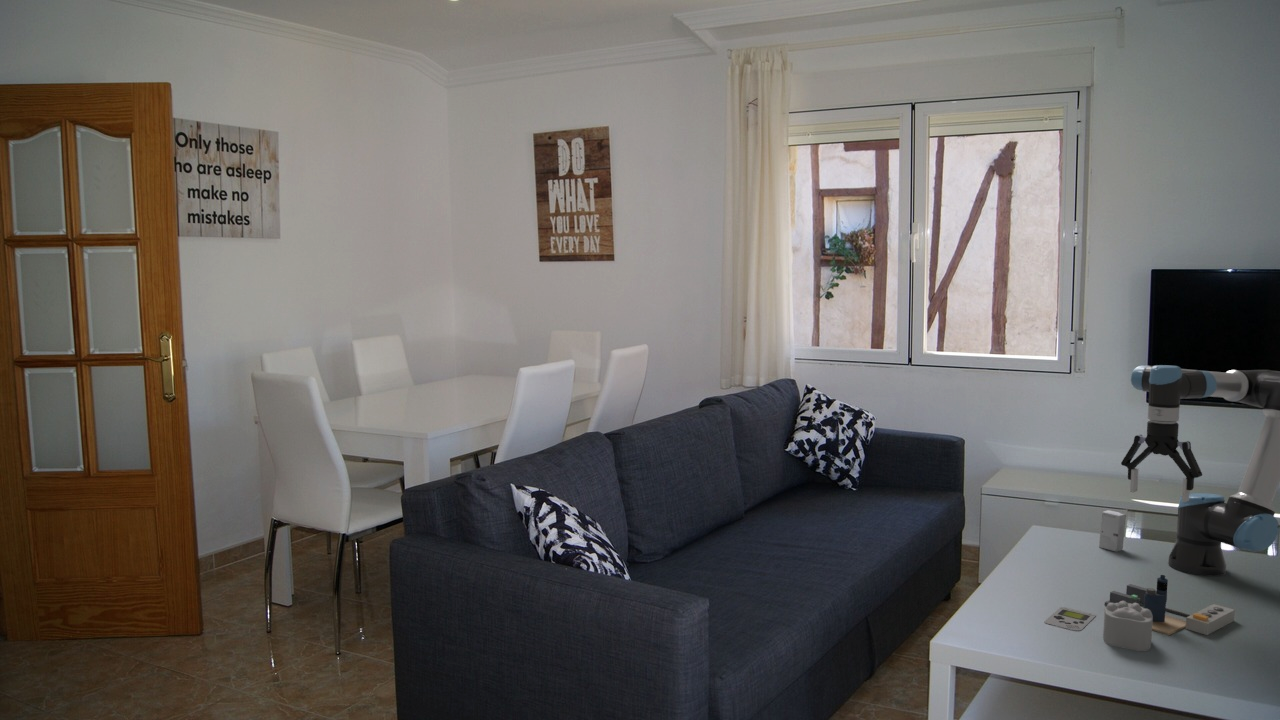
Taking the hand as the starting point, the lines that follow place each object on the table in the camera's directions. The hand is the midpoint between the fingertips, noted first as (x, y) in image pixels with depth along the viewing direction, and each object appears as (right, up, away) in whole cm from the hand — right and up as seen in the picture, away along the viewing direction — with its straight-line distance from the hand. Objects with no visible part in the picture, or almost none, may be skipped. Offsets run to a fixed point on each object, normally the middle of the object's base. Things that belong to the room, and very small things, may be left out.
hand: (1159, 496), depth 252 cm
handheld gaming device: (-33, -30, -16) cm, 47 cm away
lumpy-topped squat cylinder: (-25, -31, -29) cm, 49 cm away
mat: (-11, -30, -18) cm, 37 cm away
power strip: (+2, -30, -19) cm, 36 cm away
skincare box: (+10, -24, +44) cm, 51 cm away
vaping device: (-12, -30, -18) cm, 37 cm away
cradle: (-8, -29, -11) cm, 32 cm away
